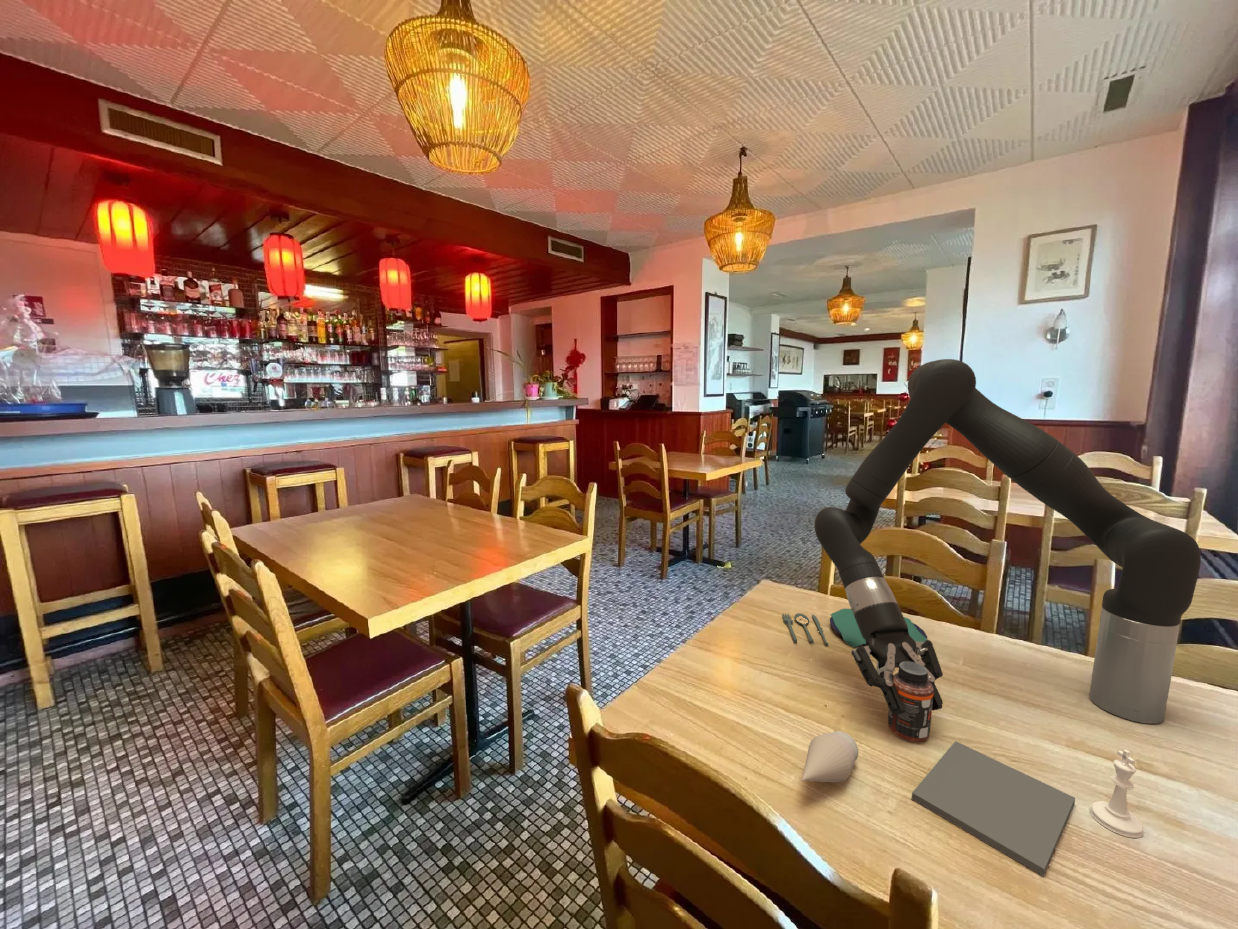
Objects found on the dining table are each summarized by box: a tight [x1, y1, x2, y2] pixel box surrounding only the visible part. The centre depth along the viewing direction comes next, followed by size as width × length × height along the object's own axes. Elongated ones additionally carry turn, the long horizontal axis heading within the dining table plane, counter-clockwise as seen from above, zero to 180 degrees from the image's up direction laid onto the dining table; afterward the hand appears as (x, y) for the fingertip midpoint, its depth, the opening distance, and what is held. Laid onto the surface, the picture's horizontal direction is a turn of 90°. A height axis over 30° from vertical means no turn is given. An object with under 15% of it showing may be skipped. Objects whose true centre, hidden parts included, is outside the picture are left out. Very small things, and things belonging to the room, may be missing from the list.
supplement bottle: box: [887, 661, 934, 743], centre depth 80 cm, size 6×6×11 cm
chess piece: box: [1089, 749, 1145, 839], centre depth 63 cm, size 5×5×10 cm
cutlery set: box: [782, 608, 928, 649], centre depth 114 cm, size 20×30×2 cm, turn 80°
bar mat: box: [911, 740, 1076, 877], centre depth 67 cm, size 16×14×1 cm
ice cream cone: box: [801, 730, 859, 783], centre depth 70 cm, size 6×6×15 cm
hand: (918, 711), depth 78 cm, fingers closed on supplement bottle, 6 cm apart
